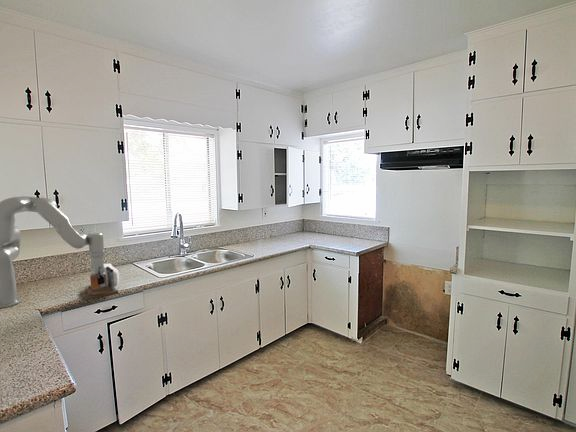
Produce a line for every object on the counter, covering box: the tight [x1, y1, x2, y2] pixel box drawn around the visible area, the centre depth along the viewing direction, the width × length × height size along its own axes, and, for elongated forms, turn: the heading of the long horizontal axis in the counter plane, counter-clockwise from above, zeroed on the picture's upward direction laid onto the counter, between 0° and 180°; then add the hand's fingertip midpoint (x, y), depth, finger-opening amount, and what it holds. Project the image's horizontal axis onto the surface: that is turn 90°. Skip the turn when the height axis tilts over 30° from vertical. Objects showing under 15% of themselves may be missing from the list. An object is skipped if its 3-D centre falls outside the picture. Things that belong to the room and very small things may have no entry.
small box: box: [89, 272, 107, 290], centre depth 191 cm, size 8×6×10 cm
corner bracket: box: [104, 263, 120, 286], centre depth 210 cm, size 11×11×12 cm
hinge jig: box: [79, 267, 119, 301], centre depth 190 cm, size 15×17×14 cm
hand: (99, 282), depth 191 cm, fingers open, 9 cm apart
